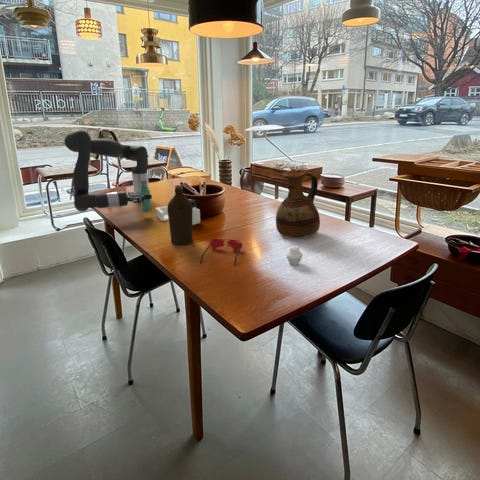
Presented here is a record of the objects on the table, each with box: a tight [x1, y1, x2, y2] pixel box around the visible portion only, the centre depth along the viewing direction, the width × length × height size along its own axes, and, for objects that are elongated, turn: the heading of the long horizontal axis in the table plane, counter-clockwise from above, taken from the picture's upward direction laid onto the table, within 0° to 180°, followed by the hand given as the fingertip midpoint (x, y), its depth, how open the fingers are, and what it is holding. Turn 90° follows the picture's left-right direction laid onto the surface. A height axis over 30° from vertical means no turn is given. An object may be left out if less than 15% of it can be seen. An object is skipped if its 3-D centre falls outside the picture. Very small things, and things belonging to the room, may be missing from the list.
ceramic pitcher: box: [275, 169, 321, 239], centre depth 167 cm, size 20×20×30 cm
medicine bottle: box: [187, 198, 201, 226], centre depth 186 cm, size 7×7×12 cm
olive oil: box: [167, 184, 194, 246], centre depth 159 cm, size 11×11×25 cm
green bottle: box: [140, 180, 153, 213], centre depth 192 cm, size 5×5×16 cm
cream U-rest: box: [155, 205, 169, 222], centre depth 197 cm, size 11×11×4 cm
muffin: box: [285, 246, 303, 266], centre depth 140 cm, size 6×6×7 cm
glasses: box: [199, 238, 243, 267], centre depth 147 cm, size 14×16×5 cm
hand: (150, 195), depth 193 cm, fingers closed on green bottle, 5 cm apart
